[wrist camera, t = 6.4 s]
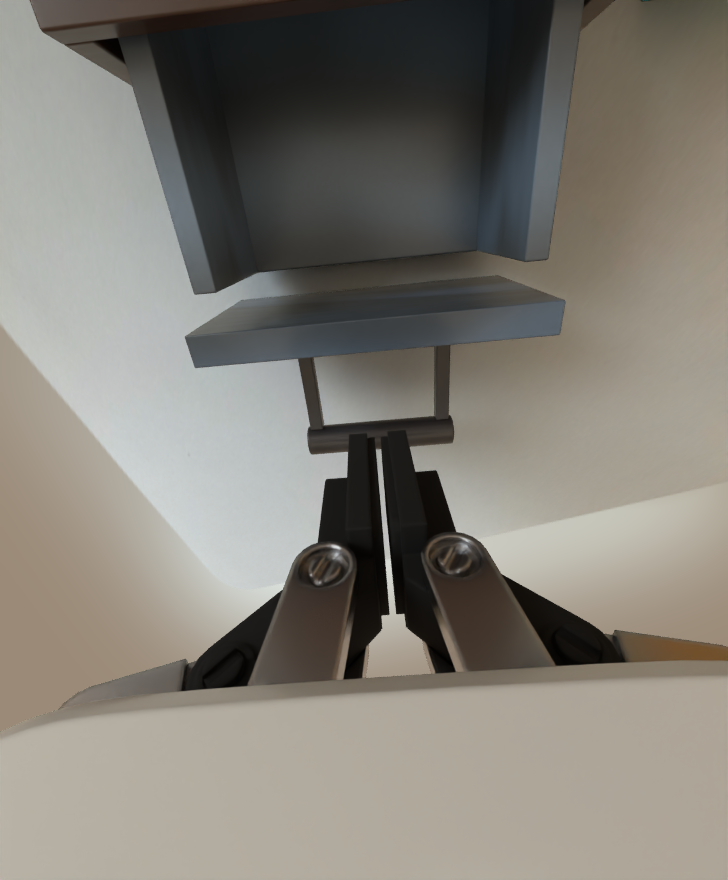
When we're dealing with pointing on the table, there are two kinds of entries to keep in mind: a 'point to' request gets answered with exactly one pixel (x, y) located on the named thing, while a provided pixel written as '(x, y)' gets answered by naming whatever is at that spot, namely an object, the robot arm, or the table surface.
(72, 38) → the cabinet
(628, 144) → the table surface
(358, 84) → the drawer
